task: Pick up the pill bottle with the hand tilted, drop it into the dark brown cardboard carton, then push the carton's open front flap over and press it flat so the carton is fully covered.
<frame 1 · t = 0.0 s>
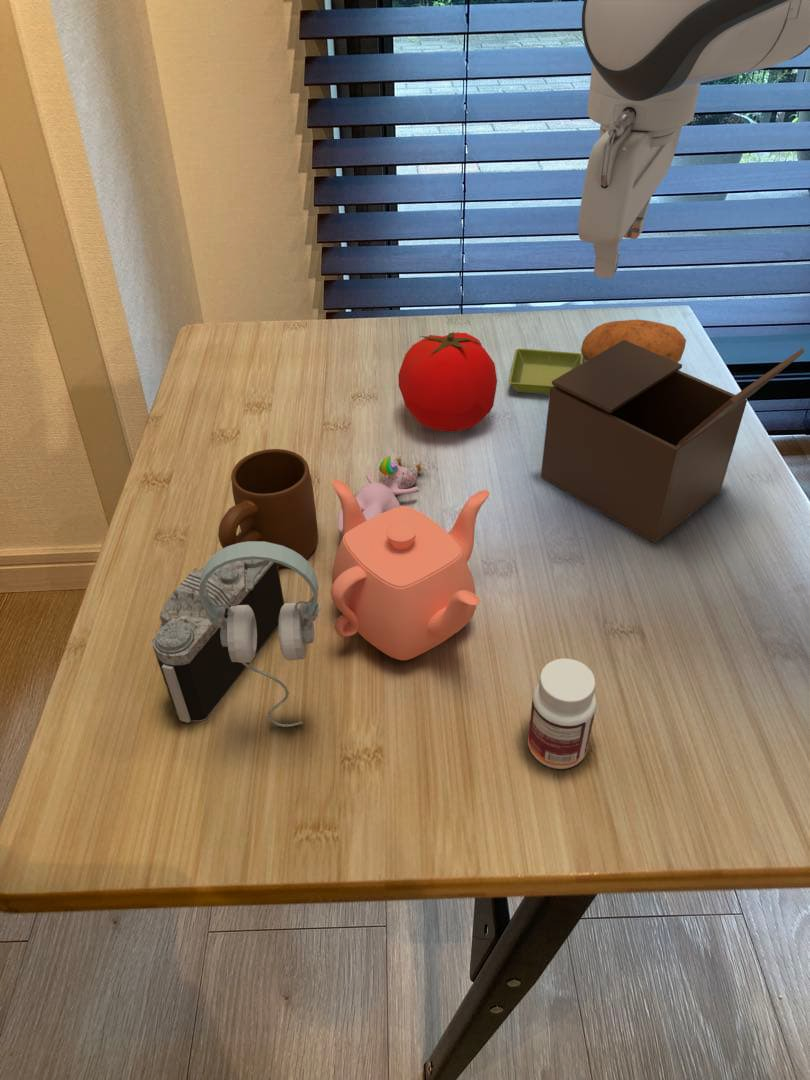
hand: (618, 254, 79), 24 cm above the table, tool pointing down, fingers open, 8 cm apart
teapot: (415, 613, 79), on the table
camera: (219, 655, 75), on the table
olive green tray: (545, 383, 108), on the table
pink animal figure: (381, 511, 90), on the table
mug: (270, 559, 84), on the table
potato: (627, 369, 110), on the table
flap: (741, 397, 76), point 15 cm above the table, hinge at 120.0°
pill bottle: (556, 746, 68), on the table
headphones: (287, 728, 69), on the table
tomato: (448, 420, 102), on the table
carton: (629, 484, 92), on the table
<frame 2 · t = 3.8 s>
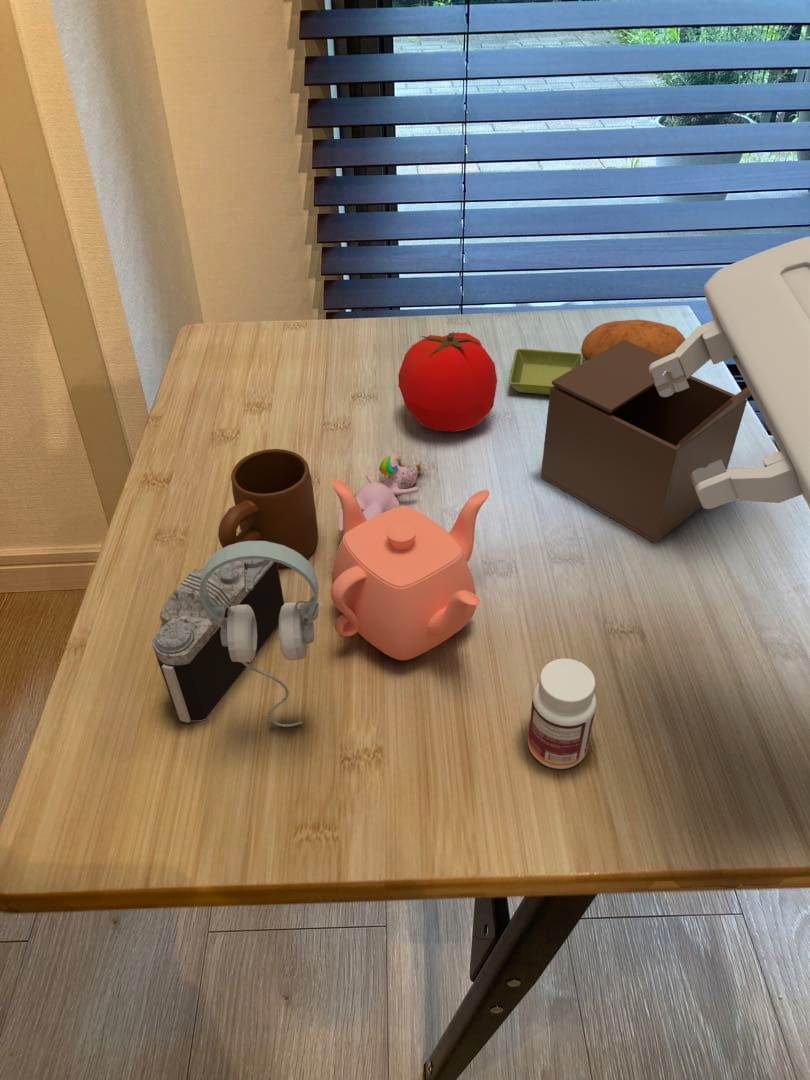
hand: (673, 433, 48), 30 cm above the table, tool tilted 60°, fingers open, 8 cm apart
nothing on the table moved.
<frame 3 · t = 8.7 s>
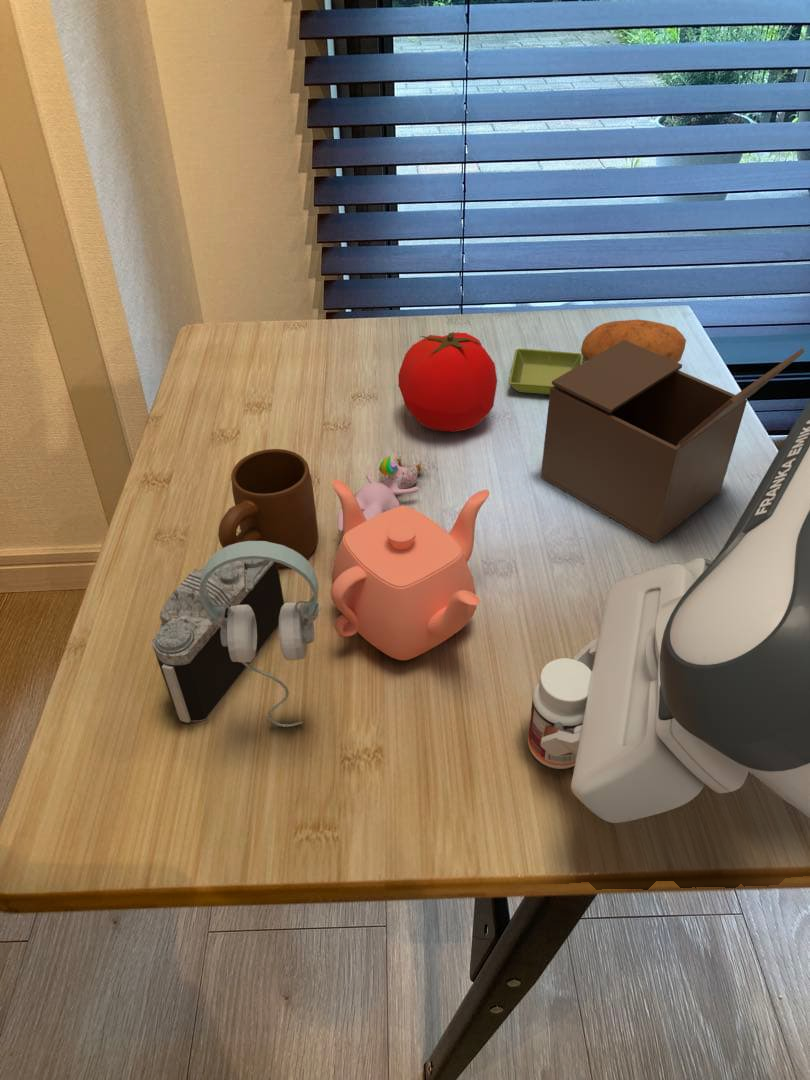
hand: (554, 710, 65), 4 cm above the table, tool tilted 45°, fingers closed on pill bottle, 5 cm apart
pill bottle: (556, 746, 68), on the table, touching gripper
everything else where it was.
when the fingers open (15 cm above the table, at t = 17.5 s): pill bottle drops 10 cm, resting on carton.
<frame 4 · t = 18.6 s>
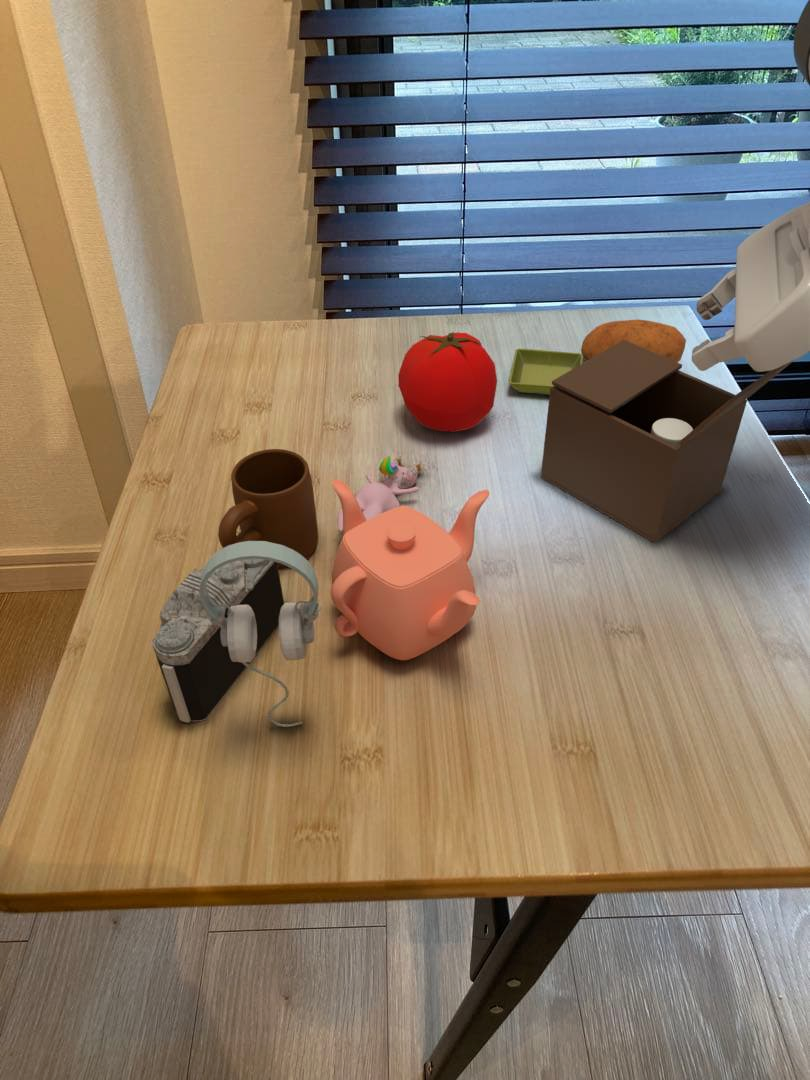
hand: (697, 335, 76), 19 cm above the table, tool tilted 45°, fingers open, 8 cm apart
pill bottle: (656, 497, 89), resting on carton
everything else where it was.
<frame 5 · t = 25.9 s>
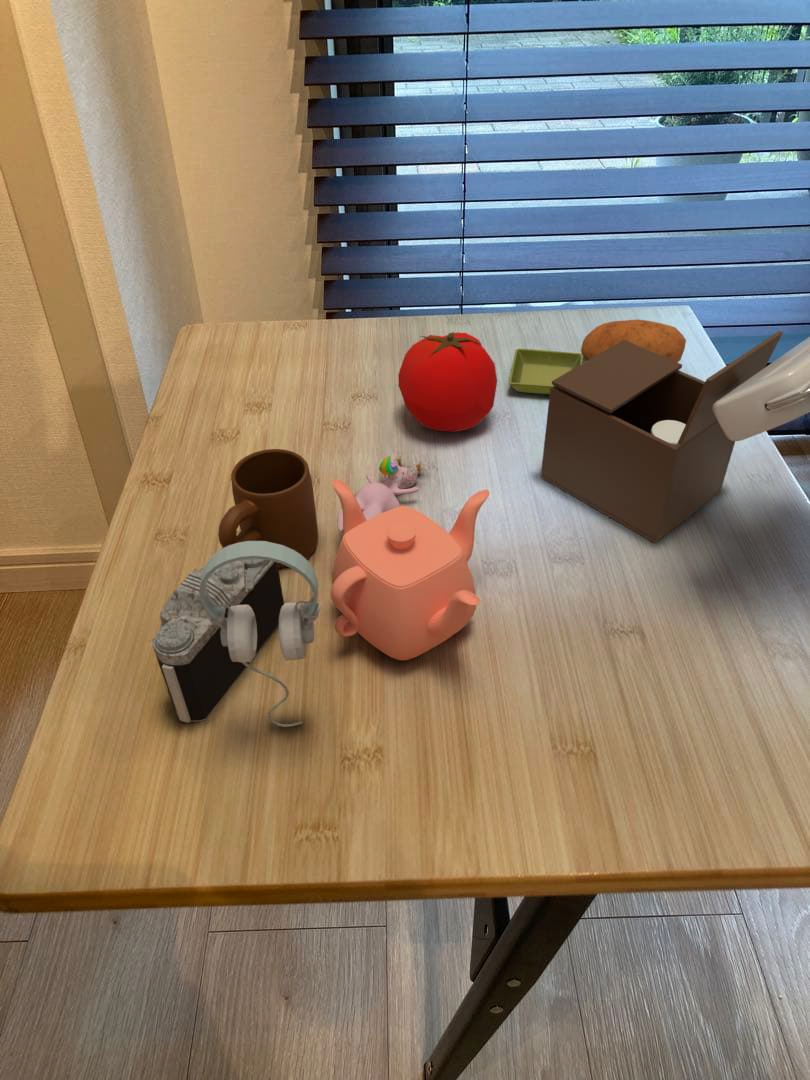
hand: (735, 398, 77), 15 cm above the table, tool tilted 45°, fingers closed, pressing on flap
flap: (730, 387, 77), point 16 cm above the table, hinge at 99.6°, touching gripper
everything else where it was.
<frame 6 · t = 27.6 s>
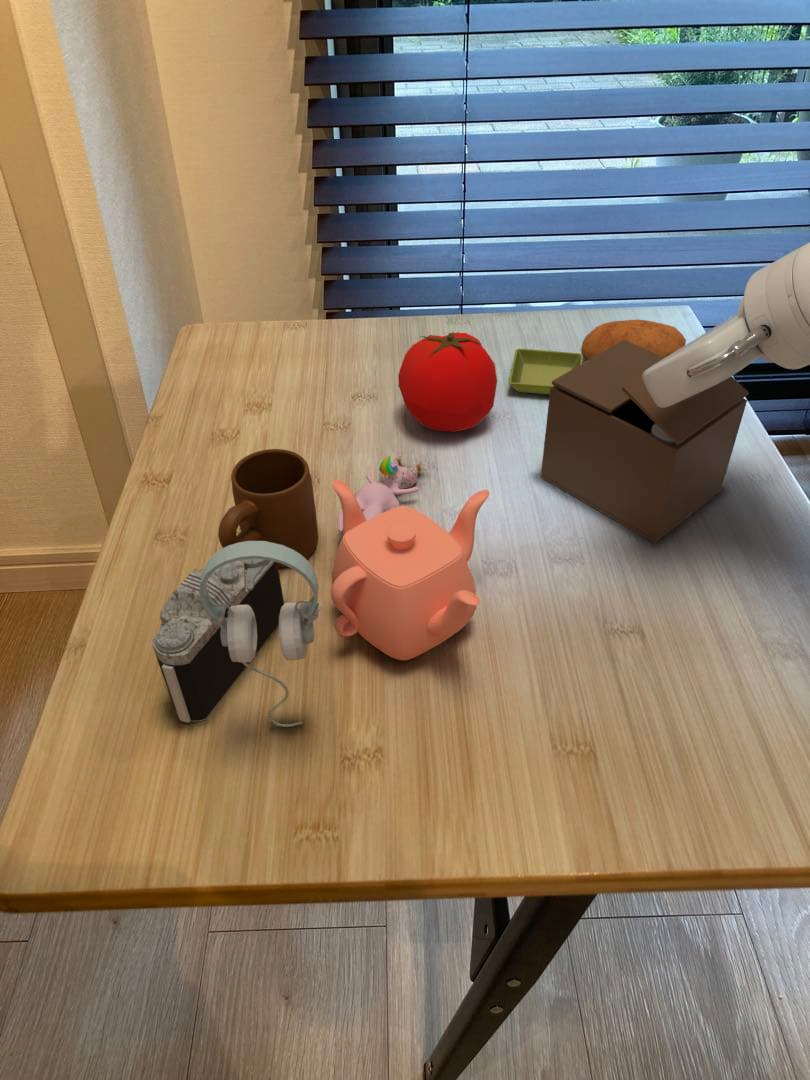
hand: (671, 371, 80), 15 cm above the table, tool tilted 45°, fingers closed
flap: (686, 391, 80), point 14 cm above the table, hinge at 23.4°
everything else where it was.
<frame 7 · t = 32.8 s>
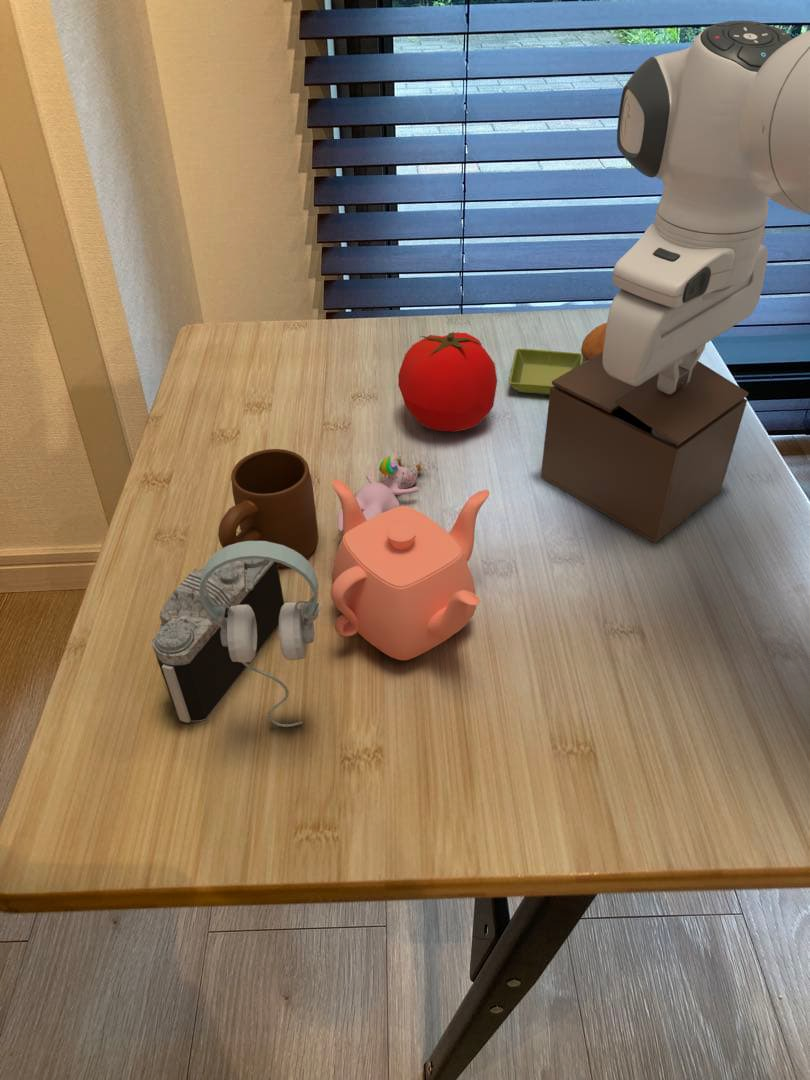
hand: (672, 386, 81), 13 cm above the table, tool pointing down, fingers closed, pressing on flap
flap: (682, 397, 81), point 13 cm above the table, hinge at 10.1°, touching gripper
everything else where it was.
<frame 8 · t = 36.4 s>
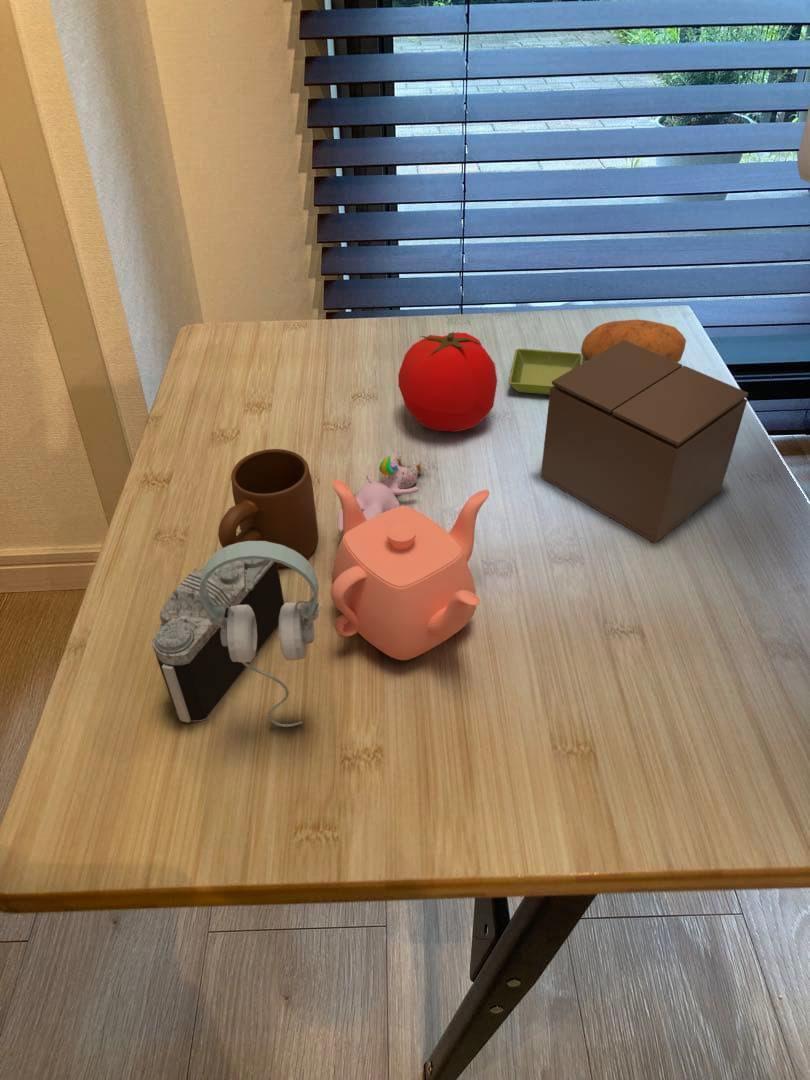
flap: (680, 403, 82), point 12 cm above the table, hinge at -0.1°
everything else where it was.
at the end: pill bottle inside the target area in the carton (3.6 cm from its centre), point 0.3 cm above the carton's base; flap at +0° (first picture: +120°) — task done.
